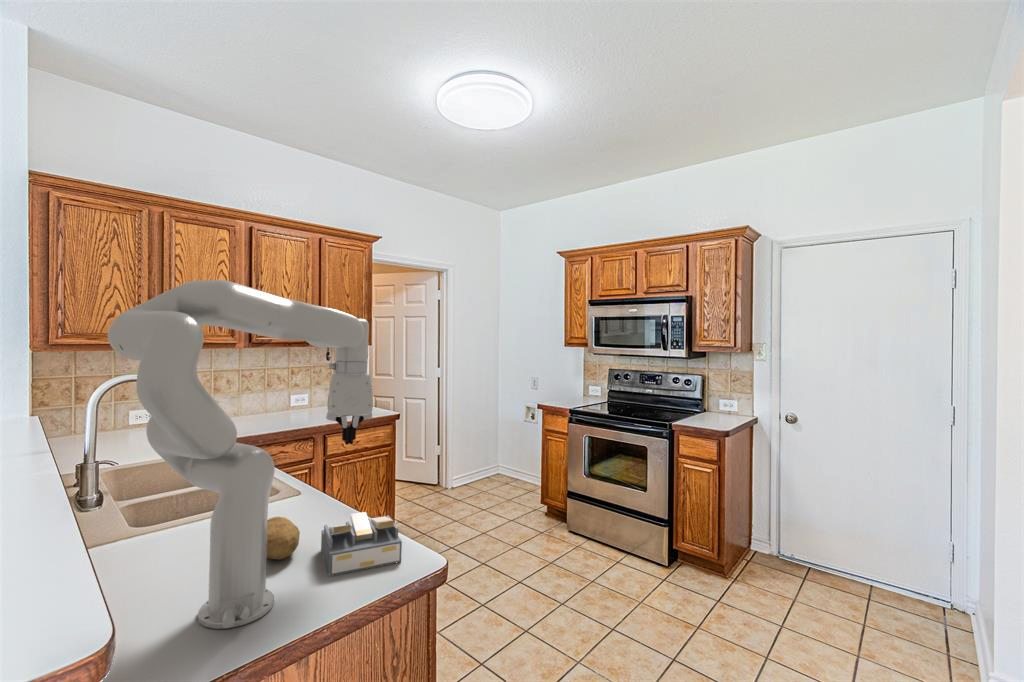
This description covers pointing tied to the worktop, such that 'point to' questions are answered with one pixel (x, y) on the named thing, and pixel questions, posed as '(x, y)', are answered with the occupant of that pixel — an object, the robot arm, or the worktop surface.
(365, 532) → the rocker
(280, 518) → the potato
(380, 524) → the block
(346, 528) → the rocker
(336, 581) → the worktop surface
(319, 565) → the worktop surface
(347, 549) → the box
